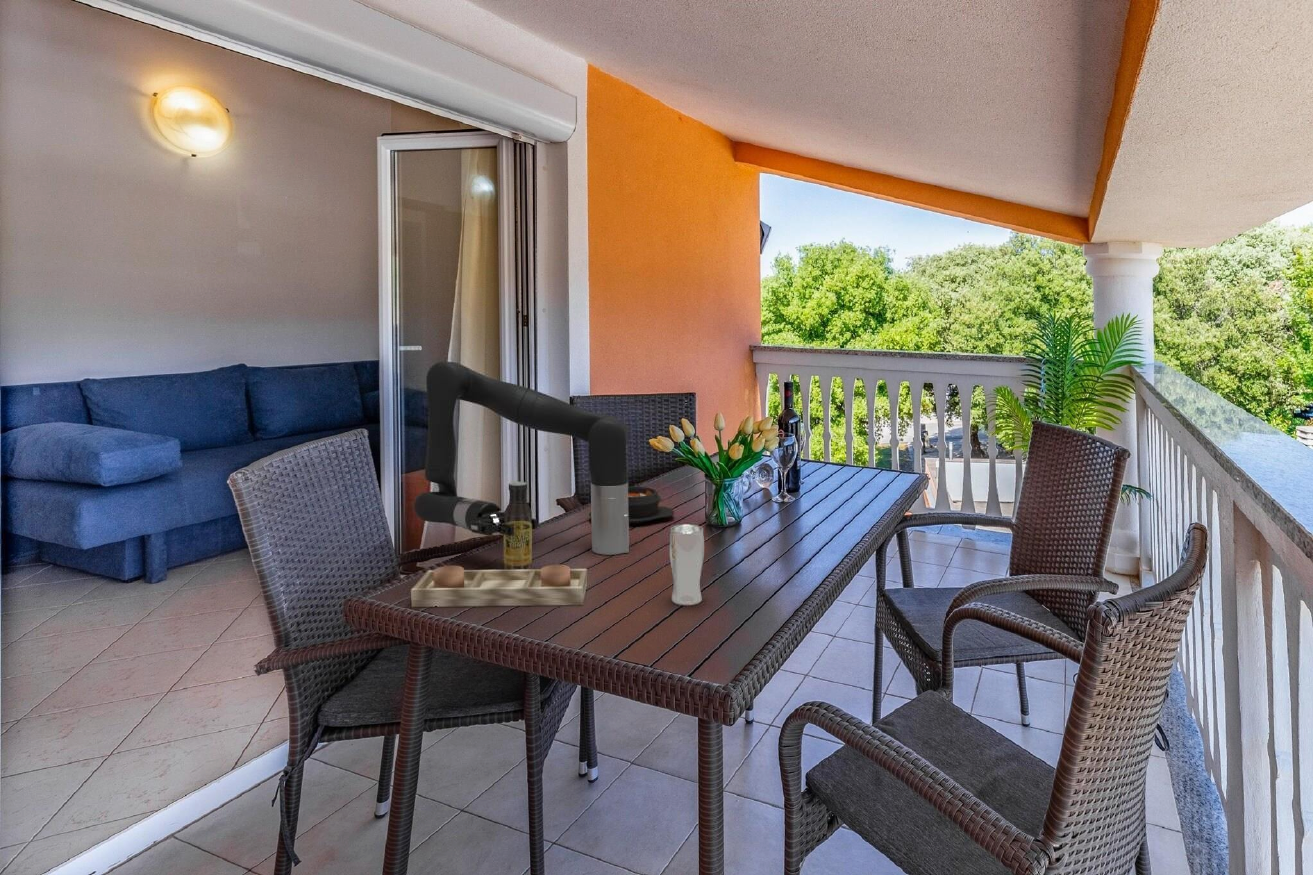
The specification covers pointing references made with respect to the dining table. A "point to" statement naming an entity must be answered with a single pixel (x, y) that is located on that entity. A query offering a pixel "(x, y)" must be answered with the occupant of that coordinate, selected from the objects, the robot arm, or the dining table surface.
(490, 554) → the dining table surface
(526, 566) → the sauce bottle
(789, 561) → the dining table surface
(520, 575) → the rail
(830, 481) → the dining table surface
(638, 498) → the casserole
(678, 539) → the beer glass
